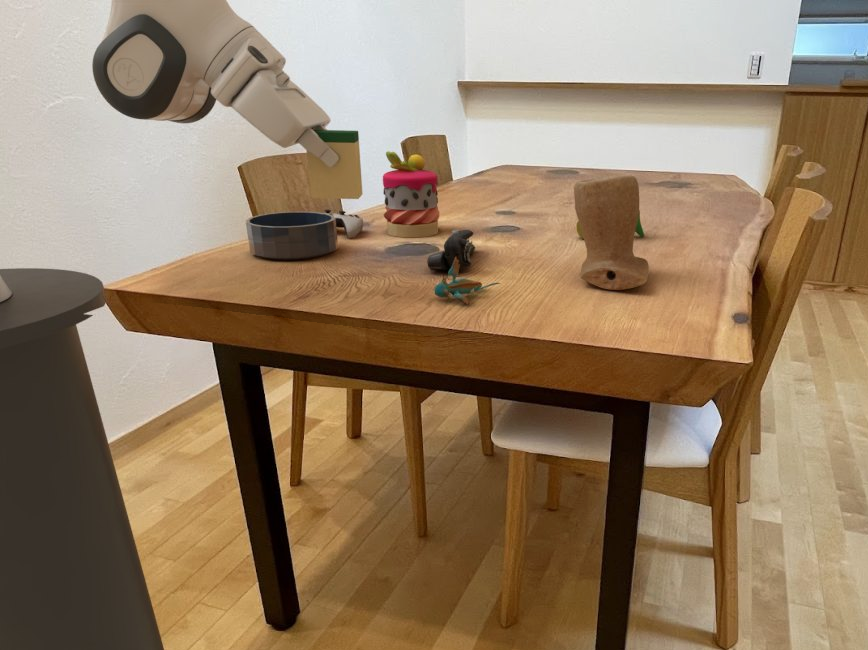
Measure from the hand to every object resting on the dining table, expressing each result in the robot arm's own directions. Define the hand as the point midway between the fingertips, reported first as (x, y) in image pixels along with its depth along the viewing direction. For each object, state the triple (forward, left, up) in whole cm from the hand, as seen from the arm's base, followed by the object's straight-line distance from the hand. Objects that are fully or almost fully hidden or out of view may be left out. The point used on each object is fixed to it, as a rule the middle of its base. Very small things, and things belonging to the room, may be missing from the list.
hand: (339, 161), depth 85 cm
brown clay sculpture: (+37, -7, -17) cm, 41 cm away
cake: (+18, +36, -17) cm, 44 cm away
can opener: (+19, +10, -17) cm, 28 cm away
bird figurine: (+54, +21, -17) cm, 61 cm away
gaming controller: (+4, +39, -17) cm, 43 cm away
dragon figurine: (+14, -9, -17) cm, 24 cm away
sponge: (-1, 0, -4) cm, 4 cm away
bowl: (-5, +26, -17) cm, 32 cm away
